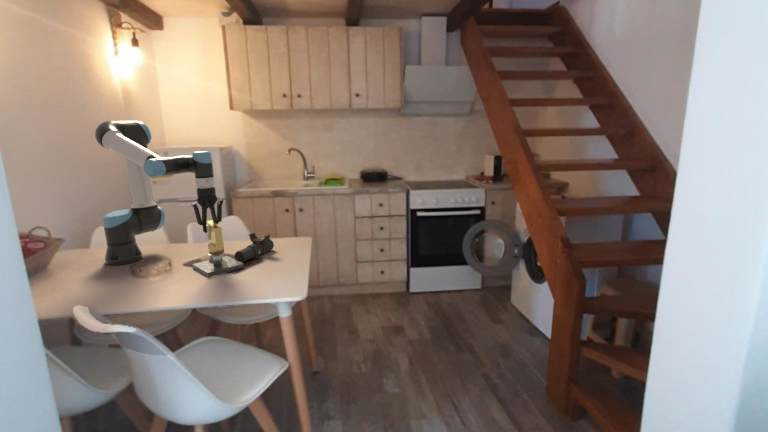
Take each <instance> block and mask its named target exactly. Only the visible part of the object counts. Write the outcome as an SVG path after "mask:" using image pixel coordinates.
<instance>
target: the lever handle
mask: <svg viewBox="0 0 768 432" xmlns="http://www.w3.org/2000/svg"><path fill="white" fill-rule="evenodd" d="M207 225H208V226H209V234H210V240H208V241H209V242H210V243H208V244H207V247H208V254H211V255H218V254H222V255H223V254H224V253H225V245H224V244H225V243H224V241H223V240H224V238H223V231H222V227H221V225H219V223H218V224H217V223H216V222H215V221H213V219H212V220H207Z"/></svg>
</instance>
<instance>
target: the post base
mask: <svg viewBox="0 0 768 432" xmlns="http://www.w3.org/2000/svg"><path fill="white" fill-rule="evenodd" d="M207 258H208V260H204V261H200V262H195V263H192V268H193V270H195V271H197V272H198V273H200V274H202V275H203V276H205V277H207V278H210V277H215V276H218V275H222V274H226V273H230V272H233V271H237V270H241V269H244V267H245V266H244V262H242V263H241V262H239V261H237V260H236V259H235V258H233V257H231V256H228V255H224V256H223V253H222V254H218V255H211V254H209V253H208V254H207Z"/></svg>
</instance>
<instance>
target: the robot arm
mask: <svg viewBox="0 0 768 432" xmlns="http://www.w3.org/2000/svg"><path fill="white" fill-rule="evenodd" d="M151 133H152V132H151V131H150V129H149V126H148V125H146V123H145V122H142V121H140V120H106V121H104V122H102V123H100V124H99V125H98V126H97V127H96V128H95V132H94V136H95V137H94V138H95V140H96V142H97V143H98V145H100V146H101V147H103V148H104V149H106V150H107V151H111V152H116V153H117V154H119V155H121V156H122V157H124V160H125V165H126V171H127V176H128V181H129V187H130V192H131V196H132V202H133V203H132V204H131V206H130V209H125V208H124V209H120V210H114V211H111V212H109V213H106V214H104V215H103V218H102V226H103V228H104V235H105V240H106V246H107V247H106V251H105V256H104V262H105V264H106V265H108V266H122V265H123V266H124V265H129V264H132V263H135V261H136V262H138V261H140V260H142V259H143V252H142V251H141V249H140V247H139V246H138V244H137V241H136V236H138V235H142V234H143V235H144V234H146V233H151V232H152V233H153V232H155V231H158V230H160V229H161V228H163V226H164V225H165V222H166V215H165V212H164V210H163V208H162V207H161V206H159V205H158V203H157V202H156V201H154V197H153V191H152V186H151V180H150V178H160V177H165V176H166V177H167V176H172V175H173V176H174V175H181V174H188V173H189V174H190V173H191V174H194V178H195V179H194V180H195V187H196V196H197V199H196V201H195V202H193V203H191V207H192V208H193V210H194V215H195V218H196V222H197V224H198V225H199V226H202V232H203V233H204V234H205V239H206V240H208V241H209V240H210V234H209V226H208V225H207V221H208V220H207V219H208V218H207V217H208V212H207V211H208V209H209V210H210V214H211V218H212V220H213V221H215V222H216V223H217V224H218V225H219V223H220V222H222V221H223V216H222V215H223V204H224V200H222V199H218V197H217V193H216V187H215V183H216V182H215V177H214V167H213V166H214V165H213V158H212V154H211V152H210V151H207V150H205V151H204V150H203V151H202V150H198V151H197V150H196V151H193V152H192V153H191V155H185V154H182V155H181V154H179V155H176V156H168V157H162V156H161V155H158V154H157V153H154V151H151V150H149V149H148V145H149V144H151V141H152V134H151ZM215 204H216V208H215ZM199 206H200V207H201V213H200V209H199ZM215 209H216V210H215Z"/></svg>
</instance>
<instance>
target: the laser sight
mask: <svg viewBox="0 0 768 432" xmlns="http://www.w3.org/2000/svg"><path fill="white" fill-rule="evenodd" d="M248 236H249V238H250V242H251V243H252V244H249V245H247V246H246V247H245V248H242V249H240V250H238V251H236V252H235V253H234V259H235V260H237V261H239V262H241V263H244V262H246V261H249V260H251V259H255V258H258V257H261V256H262V255H264V254H267V253H269V252H270V251H271V250H273V249H274V246H275V245H274V241H273V240H272V239H270V237H271V234H266V235H264V236H263V237H264V238H259V237H258V236H257V235H256V234H255V232H252V233H249V234H248Z"/></svg>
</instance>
